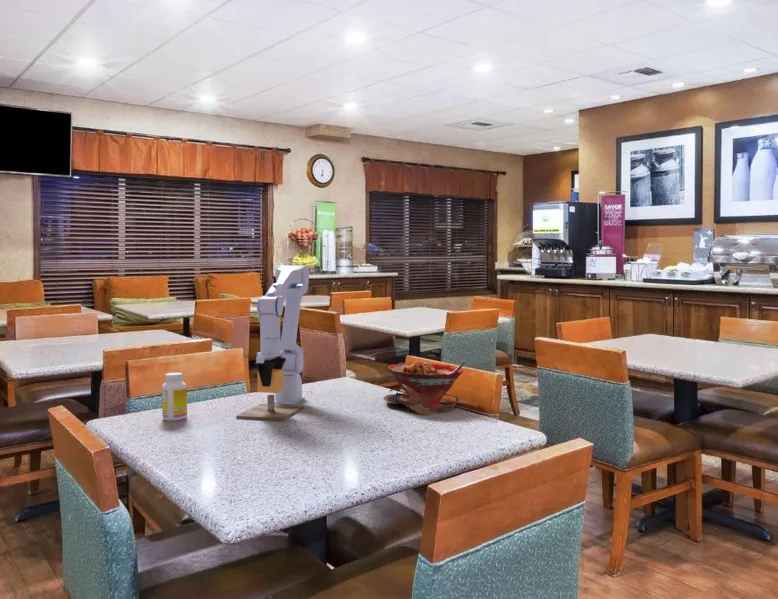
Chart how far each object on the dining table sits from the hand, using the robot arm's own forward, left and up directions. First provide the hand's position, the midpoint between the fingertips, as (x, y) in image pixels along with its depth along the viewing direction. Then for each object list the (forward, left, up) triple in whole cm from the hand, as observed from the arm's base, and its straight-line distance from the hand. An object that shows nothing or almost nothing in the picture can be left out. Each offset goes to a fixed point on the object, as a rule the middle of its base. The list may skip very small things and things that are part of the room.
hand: (270, 384), depth 191 cm
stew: (-21, +42, -9) cm, 48 cm away
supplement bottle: (+12, -24, -9) cm, 28 cm away
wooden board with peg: (0, 0, -9) cm, 9 cm away
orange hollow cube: (0, 0, -2) cm, 2 cm away
